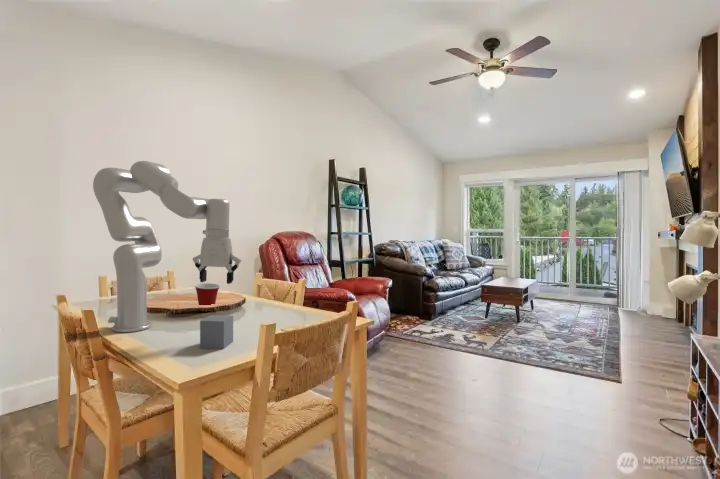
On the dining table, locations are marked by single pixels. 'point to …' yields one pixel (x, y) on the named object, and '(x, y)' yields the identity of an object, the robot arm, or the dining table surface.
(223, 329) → the grey matte cube
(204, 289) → the plastic cup
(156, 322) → the dining table surface
